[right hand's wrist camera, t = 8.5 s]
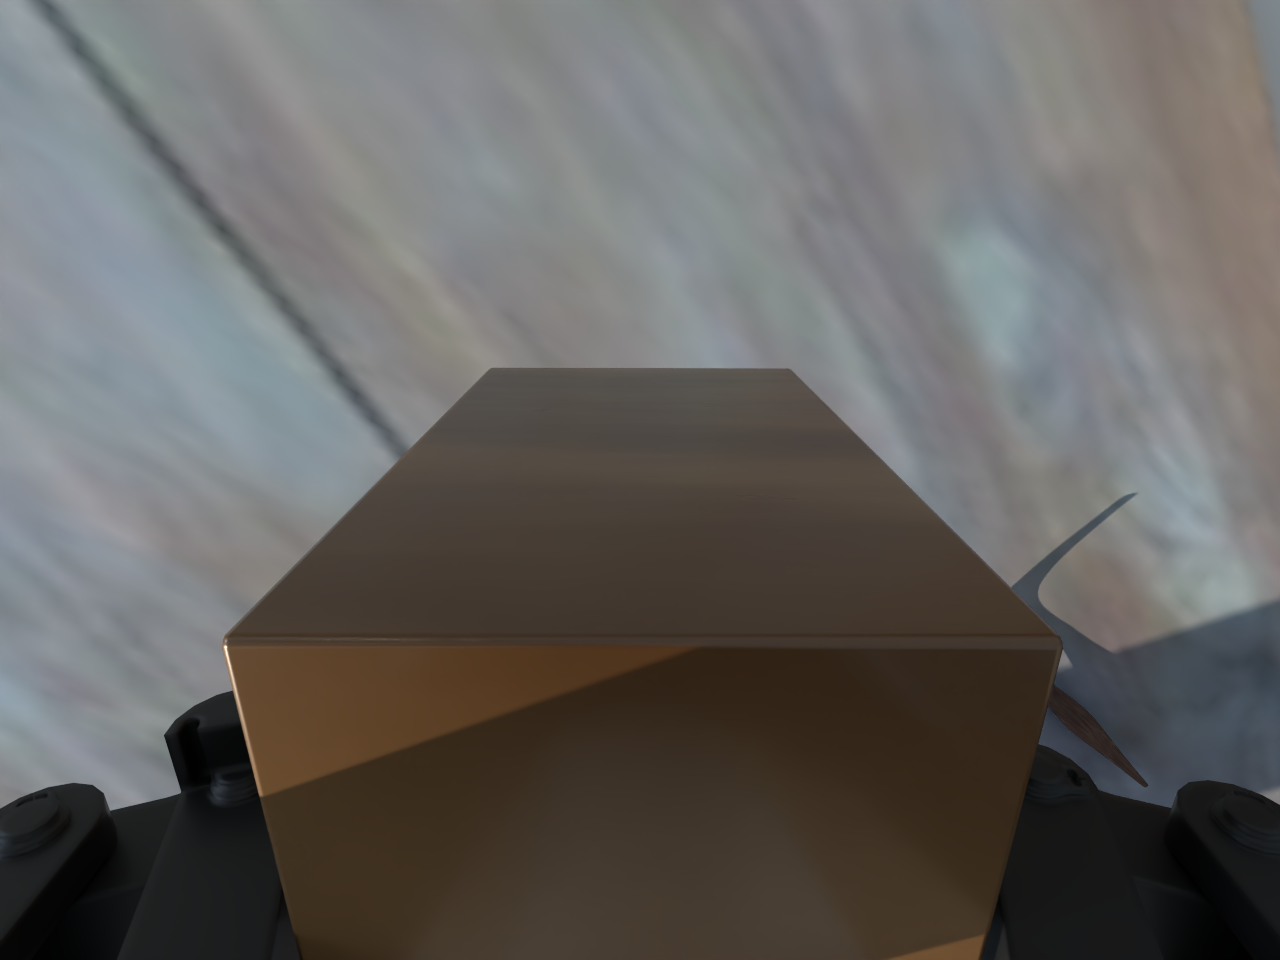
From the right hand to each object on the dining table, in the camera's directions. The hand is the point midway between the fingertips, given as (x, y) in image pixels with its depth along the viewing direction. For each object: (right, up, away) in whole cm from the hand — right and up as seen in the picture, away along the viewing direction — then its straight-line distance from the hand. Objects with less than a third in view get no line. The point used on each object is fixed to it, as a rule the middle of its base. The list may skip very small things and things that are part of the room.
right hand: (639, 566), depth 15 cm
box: (0, -7, +4) cm, 8 cm away
